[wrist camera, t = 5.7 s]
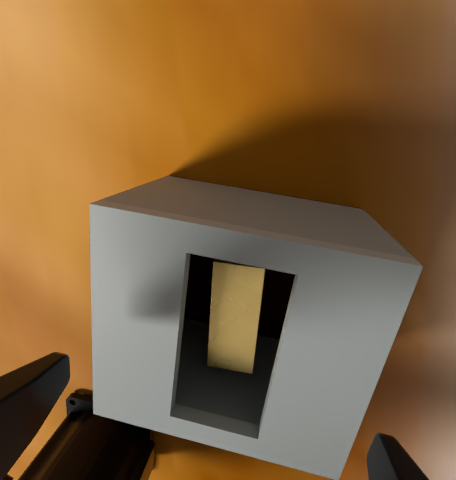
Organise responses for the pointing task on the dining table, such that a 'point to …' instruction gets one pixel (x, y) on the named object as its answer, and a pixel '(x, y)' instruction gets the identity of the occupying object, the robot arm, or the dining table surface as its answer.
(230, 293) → the block
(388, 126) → the dining table surface
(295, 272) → the coin box
